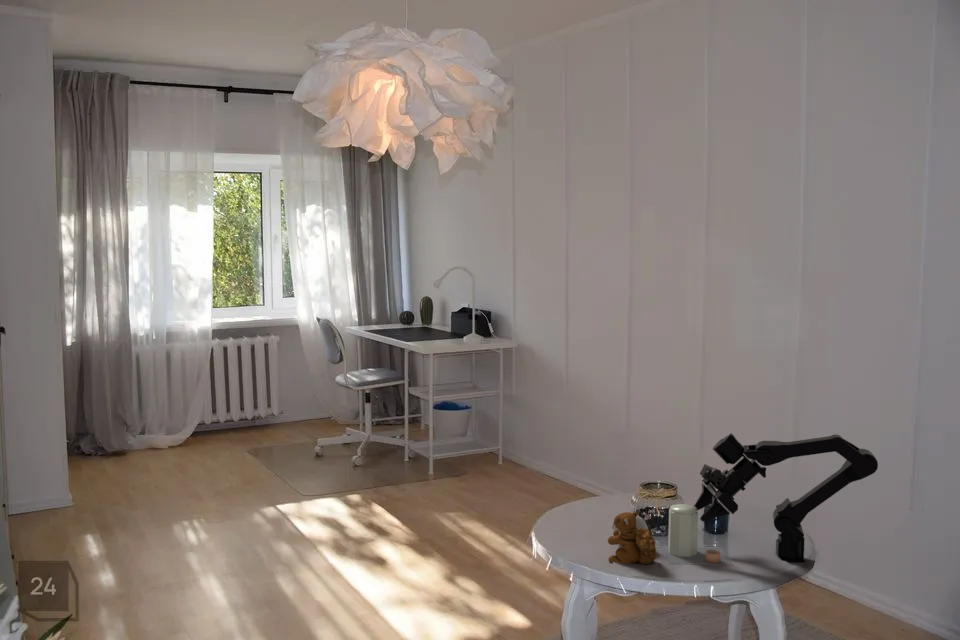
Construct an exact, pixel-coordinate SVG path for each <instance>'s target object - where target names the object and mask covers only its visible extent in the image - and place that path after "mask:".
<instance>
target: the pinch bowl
mask: <svg viewBox="0 0 960 640" xmlns="http://www.w3.org/2000/svg"><path fill="white" fill-rule="evenodd" d="M705 561H706V562H708V563H712V564H717V563H720V551H718V550H712V549H709V550H706V551H705Z"/></svg>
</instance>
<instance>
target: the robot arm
mask: <svg viewBox="0 0 960 640" xmlns="http://www.w3.org/2000/svg"><path fill="white" fill-rule="evenodd" d="M712 450H713V451H714V453H716V454H717V456H719V458H720V459H722V460H723V462H724V463H725V464H726V465H729V464H730V465H734V466H733V467H731V468H730V469H729V470H728V469H724V470H723V471H721V469H718V468H716V467H712V466H710V465H708V464H706V463H705V464H703V466H702V469H701V470H700V472H699V475H700V476H701V478H703V479H702V480H701V482H702V483H701V490H702V491H701V493H700V494H699V497H698V499H697V500H696V502H695V503H694V505H693V506H694V507H696V508H697V511H699V510H702V509H704V508H705V507H707V508H706V510H705V511H704V512H703V514H702V515H701V516H700V517H699V520H700V521H701V522H706V521H709V520H712V519H716V518H719V517H723V516H727V515H730V514H732V515H734V514H735V513H736V512H737V511H738V510H739V504H738V503H737V502H736V501H735V498H734V496H736V495H737V494H738V493H739V492H740V491H742V492H744V491H746V488H747V487H745V486H746V485H748V483H750V482H751V481H753V479H754V478H755V477H756V476H757V475H760V476H761V477H762V478H764V479H766V477H767V473H766V471H767V467H768V466H769V467H770V466H773V465H776V464H779V463H782V462H783V461H786V460H788V459H791V458H797V457H805V456H812V455H819V454H825V453H834V452H835V453H837V454H839V455H840V456H841V457H842V458H844V459H845V462H844V463H843V464H842V465H841V467H840V468H839V469H838V470H837V471H835V472H834V473H833V474H831V475H830V476H828V477H827V478H826V479H824V480H823V481H821V482H820V483H819V484H818V485H816V486H814V487H813V488H811V490H809V491H808V492H806V493H805V494H803V495H802V496H801V497H799V498H798V499H795V500H793V501H790V499H789V497H787V498H785V499H784V500H783V501H782V503H780V504H777V505H775V509H774V510H773V512H772V522H773V526H774V528H775V529H776V531H778V533H777V534H778V535H777V538H778V539H777V538H776V539H775V555H776V556H777V557H778V558H779V559H780V560H781V561H782V562H783V561H784V562H789V563H790V562H792V563H793V562H795V563H797V562H798V563H806V561H807V560H806V558H805V539H806V538H805V534H804V530H803V526H802V522H803V520H805V518H806V517H807V515H808V514H809V513H811V512H812V511H813V510H814V509H816V508H817V507H819V506H820V505H822V504H823V503H824V502H826V501H827V500H829V499H830V498H831V497H832V496H834V495H836V494H837V493H838V492H839V491H841V490H842V489H844V488H845V487H846V486H848V485H849V484H851V483H853V482H856V481H857V482H858V481H861V480H863V479H865V478H867V477H869V476H872V475H874V474H875V473H876V472H877V470H878V466H879V463H878V460H877V458H876V456H875V455H874V454H873V452H872V451H870V450H869V449H865V448H859V447H858V446H856V445H854V444H853V443H851V442H850V441H848V440H847V439H844V438H843V437H842V436H841V435H839V434H832V435H829V436H822V437H815V438H807V439H800V440H792V441H779V440H762V441H761V440H760V441H759V442H757V443H756V444H748V445H747V444H745V445H743V444H742V443H741V442H740V441H739V440H738V439H737V438H736V436H735V435H734V434H733V433H731V432H730V433H729V434H728V435H726V436H725V437H723V438H721V439H719V440H718V441H717V442H716V444H714V446H713V447H712ZM779 532H780V533H779Z"/></svg>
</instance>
